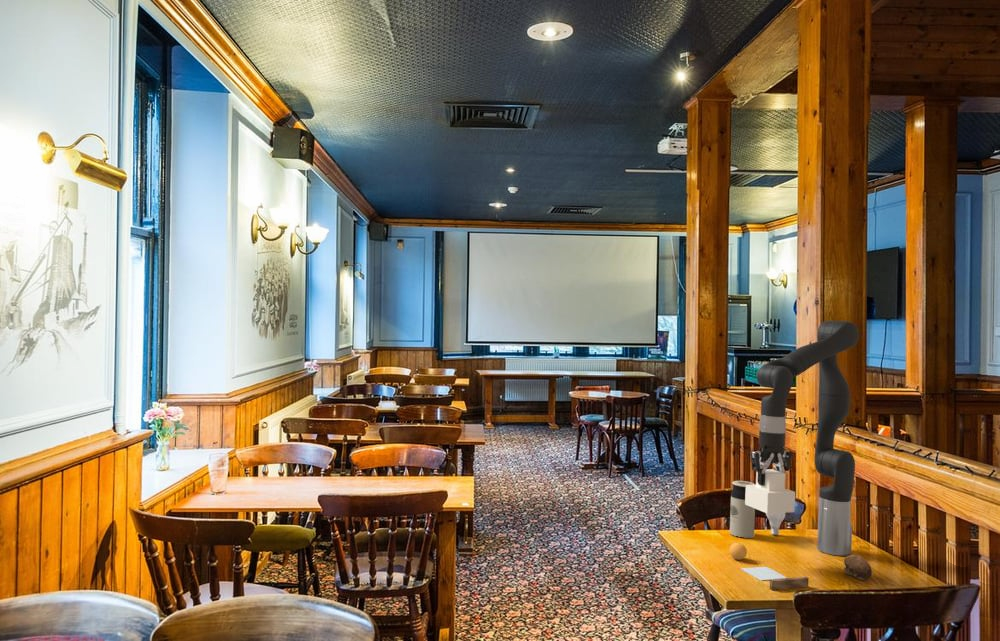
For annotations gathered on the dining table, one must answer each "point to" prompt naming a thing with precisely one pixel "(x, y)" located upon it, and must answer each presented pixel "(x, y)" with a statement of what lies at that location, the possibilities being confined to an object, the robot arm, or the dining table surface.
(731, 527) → the travel mug
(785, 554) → the dining table surface
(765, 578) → the beer mat mark
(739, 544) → the ball
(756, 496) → the stepped white block
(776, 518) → the lightbulb
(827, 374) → the robot arm
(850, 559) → the brown stone
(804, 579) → the strip
